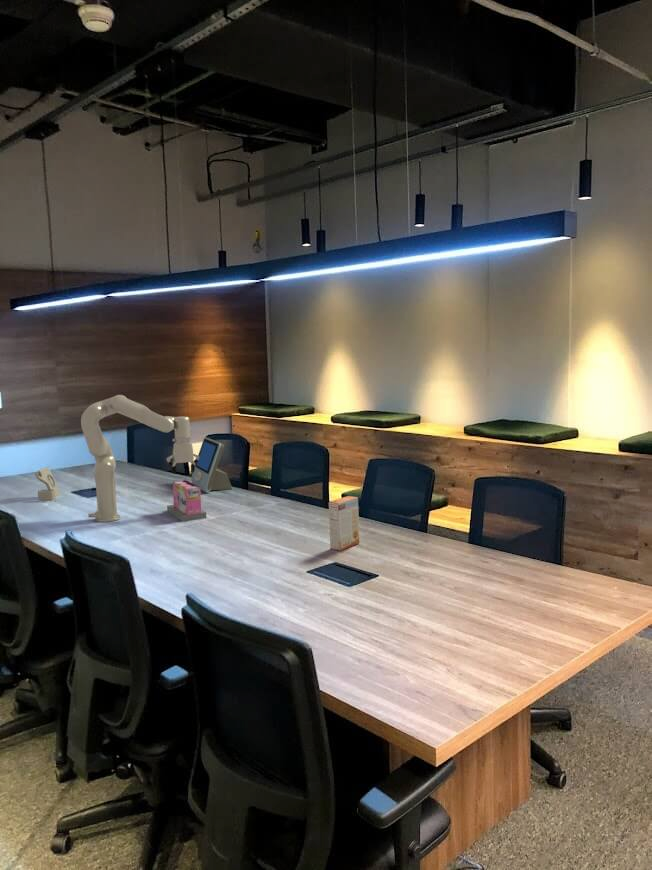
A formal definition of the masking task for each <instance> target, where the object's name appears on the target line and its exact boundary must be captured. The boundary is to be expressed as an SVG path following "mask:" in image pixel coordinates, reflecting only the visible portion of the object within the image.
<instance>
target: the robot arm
mask: <svg viewBox="0 0 652 870" xmlns="http://www.w3.org/2000/svg"><path fill="white" fill-rule="evenodd" d="M114 414H120V415H123V416H124V417H126V418H130V419H132V420H135V421H137V422H139V423H141V424H143V425H146V426H147V427H150V428H152V429H155V430H158V431H159V432H162V433H169V432H172V430H174V438H172V440H171V441H172V442H174V443H173V447H172V454H171V455H169V456H168V457H167V458H166V459H165V460H166V461H167V463H168V464H169V466H171V473H172V474H173V475H177V468H176V464H183V463H190V472H191V473H194V471H195V464H196V463H197V462H198V459H199V456H198V454H196V453H194V448H193V447H194V446H193V443H192V442H191V435H190V433H191V430H190V426H191V425H190V418H189V417H188V416H184V415H183V416H169V415H165V416H164V415H161V414H158V413H156V412H155V411H152V410H151V409H150V408H149V407H147V406H145V404H141V403H139V402H137V401H134V400H131V399H130V398H127V396H125V395H123V394H117V395H114V396H112V397H109V398H106V399H103V400H100V401H96V402H95V403H91V405H89V406H88V407H87V408H86V409H85V410H84V411H83V413H82V414H81V418H80V425H81V430H82V433H83V435H84V439H85V442H86V445H87V449H88V451H89V454H90V455H91V456H93V457H94V460H95V464H94V466H93V467H94V468H93V473H94V482H95V493H96V507H97V510H96V511H95V512H93V513H88V514H87V515H88V518H94V520H95V522H100V523H106V522H107V523H108V522H109V523H110V522H115V521H119V520H120V519H121V515H120V514H118V508H117V507H118V506H117V504H118V503H117V491H116V480H115V479H116V478H115V470H116V467H117V463H116V459H115V456H114V453H113V449H112V448H111V444H110V442H109V440H108V439H107V438H106V437H104V435H103V432H102V429H101V426H100V420H102V419H104V418H106V417H108V416H112V415H114ZM171 459H172V461H171Z"/></svg>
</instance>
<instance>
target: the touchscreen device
mask: <svg viewBox="0 0 652 870" xmlns="http://www.w3.org/2000/svg"><path fill="white" fill-rule="evenodd" d="M224 447H225V445H224V444H223V443H222V442H219V441H216V440H214V439H211V438H209V437H204V438H203V440H202V443H201V446H200V448H199V449H200V450H199V452H198V454H197V455H198V456H199V459H198V462H197V463H196V464H195V471H194V473H193V472H191V473H192V475H191V478H190V479H191V483H193V484H195V485H197V486H199V487H200V491H203V492H204V493H205V494H210V492H211V491H223V490H232V489H233V488H232V487H233V486H232V484H231V482H230V478H229V476H228V474H227V472H225V471H223V470H221V469H219V468H218V466H219V463H220V461H221V457H222V453H223V451H224Z"/></svg>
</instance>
